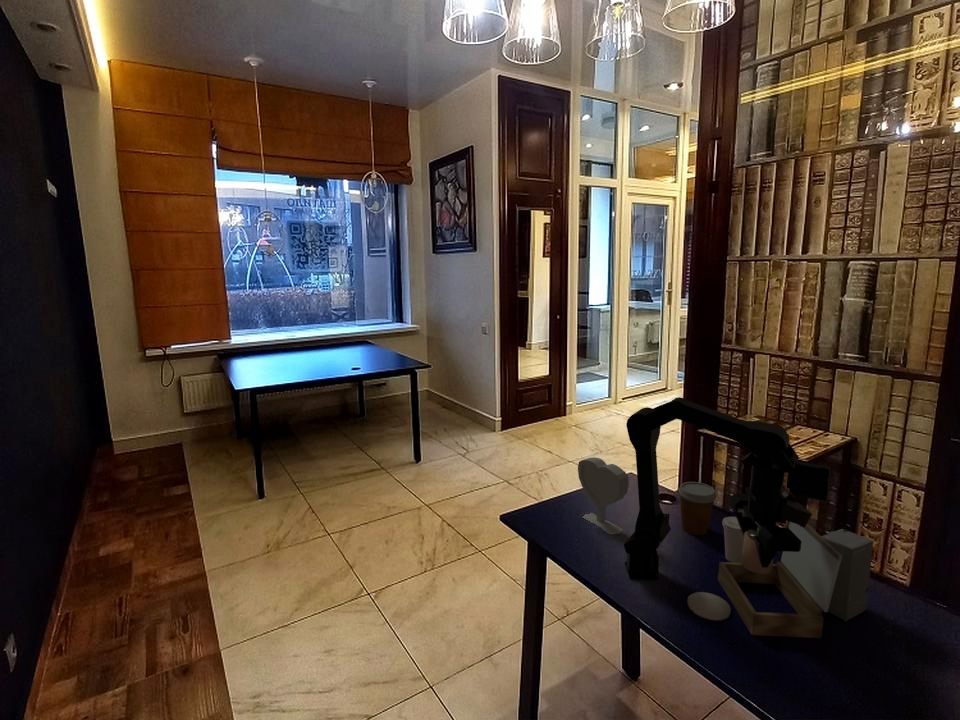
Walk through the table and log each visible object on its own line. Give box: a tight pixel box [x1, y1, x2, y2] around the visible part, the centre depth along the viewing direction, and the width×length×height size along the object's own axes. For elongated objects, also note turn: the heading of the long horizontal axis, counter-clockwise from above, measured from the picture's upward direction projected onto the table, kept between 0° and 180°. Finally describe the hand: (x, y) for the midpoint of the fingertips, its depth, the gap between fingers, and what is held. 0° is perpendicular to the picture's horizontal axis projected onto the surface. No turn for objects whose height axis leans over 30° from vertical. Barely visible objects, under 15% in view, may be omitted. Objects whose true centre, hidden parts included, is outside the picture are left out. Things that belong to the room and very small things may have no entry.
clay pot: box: [741, 526, 774, 574], centre depth 106 cm, size 6×6×9 cm
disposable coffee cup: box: [678, 481, 717, 536], centre depth 140 cm, size 10×10×12 cm
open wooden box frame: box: [717, 561, 825, 639], centre depth 108 cm, size 16×18×12 cm
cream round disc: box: [686, 591, 732, 621], centre depth 110 cm, size 8×8×1 cm
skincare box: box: [815, 528, 874, 622], centre depth 108 cm, size 8×7×16 cm
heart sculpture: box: [577, 457, 630, 535], centre depth 144 cm, size 16×5×18 cm, turn 34°
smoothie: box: [721, 516, 744, 563], centre depth 126 cm, size 6×6×14 cm
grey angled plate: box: [780, 521, 843, 613], centre depth 107 cm, size 12×17×1 cm
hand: (757, 558), depth 106 cm, fingers closed on clay pot, 6 cm apart
